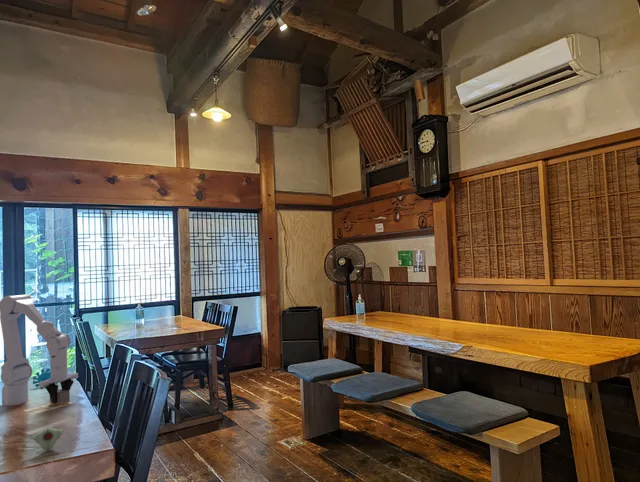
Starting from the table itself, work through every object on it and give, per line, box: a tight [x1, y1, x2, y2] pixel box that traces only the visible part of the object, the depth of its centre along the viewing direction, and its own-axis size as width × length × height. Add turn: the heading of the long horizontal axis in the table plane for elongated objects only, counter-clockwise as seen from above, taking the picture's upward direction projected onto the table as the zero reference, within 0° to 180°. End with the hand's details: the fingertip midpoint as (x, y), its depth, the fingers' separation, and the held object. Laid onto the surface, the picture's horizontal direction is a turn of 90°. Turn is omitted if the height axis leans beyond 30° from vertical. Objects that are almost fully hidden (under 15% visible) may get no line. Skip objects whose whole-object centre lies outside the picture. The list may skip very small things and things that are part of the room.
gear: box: [32, 368, 58, 389], centre depth 210 cm, size 11×6×10 cm
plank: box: [23, 401, 72, 415], centre depth 173 cm, size 10×13×1 cm
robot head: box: [31, 427, 64, 451], centre depth 133 cm, size 8×4×7 cm, turn 121°
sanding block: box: [49, 388, 71, 405], centre depth 177 cm, size 7×4×4 cm, turn 62°
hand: (59, 401), depth 177 cm, fingers closed on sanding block, 4 cm apart
